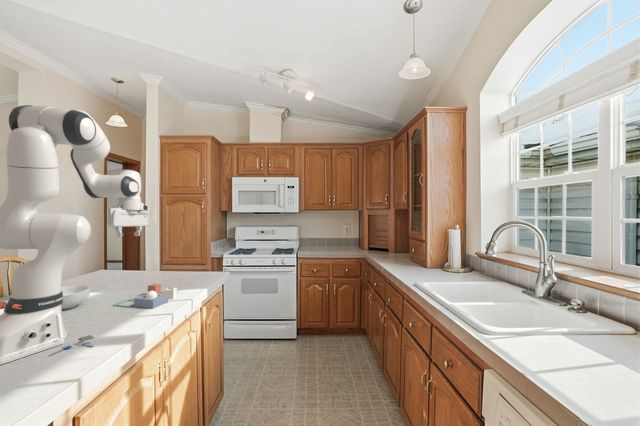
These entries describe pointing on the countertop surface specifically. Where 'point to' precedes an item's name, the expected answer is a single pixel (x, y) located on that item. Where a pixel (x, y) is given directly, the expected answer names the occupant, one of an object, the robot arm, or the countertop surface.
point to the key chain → (78, 343)
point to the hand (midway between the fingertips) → (128, 236)
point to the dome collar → (150, 301)
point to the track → (129, 300)
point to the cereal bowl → (74, 296)
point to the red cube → (155, 288)
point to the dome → (151, 294)
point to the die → (171, 292)
